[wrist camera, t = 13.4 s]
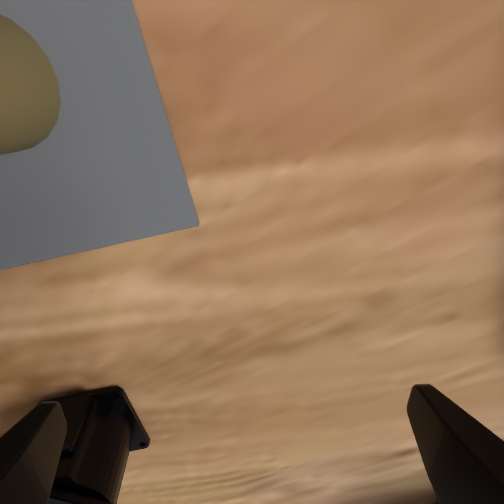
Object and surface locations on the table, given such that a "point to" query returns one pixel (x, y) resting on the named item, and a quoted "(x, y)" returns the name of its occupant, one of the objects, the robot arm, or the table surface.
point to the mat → (92, 140)
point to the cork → (25, 90)
